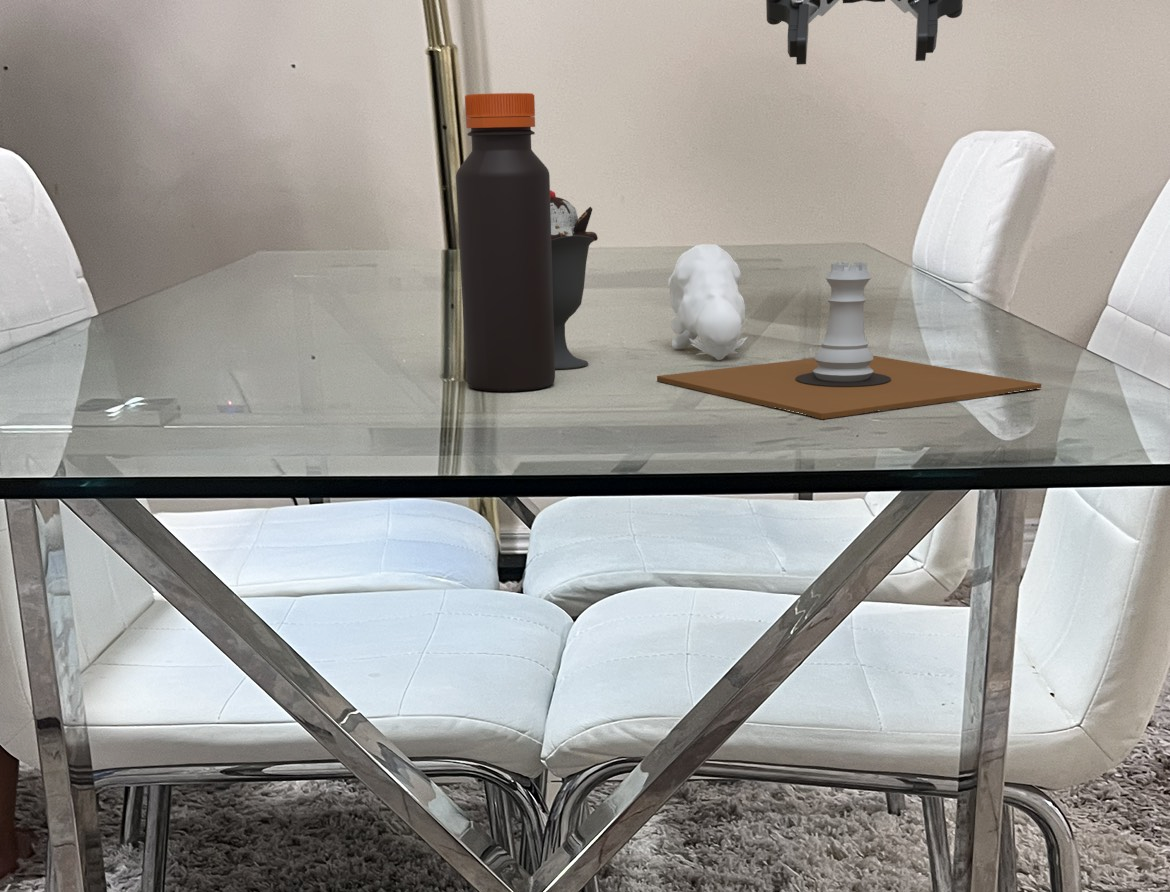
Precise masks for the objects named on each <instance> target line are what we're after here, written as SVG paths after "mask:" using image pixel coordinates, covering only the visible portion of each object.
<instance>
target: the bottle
mask: <svg viewBox="0 0 1170 892" xmlns="http://www.w3.org/2000/svg"><path fill="white" fill-rule="evenodd" d="M535 102H536V101H535V94H534V93H532V92H531V93H530V92H498V93H497V92H496V93H472V94H471V93H470V94H466V95H464V105H465V106H464V108H465V126H466V129H470V132H467V137H471V138H470V139H471V151H470V153H469V154H468V155H467V157H466V159H465V160H464V161H463V162H462V164H461V165H460V166H459V168H458V169H457V171H456V174H455V188H456V189H455V190H456V204H457V205H456V207H457V209H456V210H457V224H458V226H457V227H458V244H459V247H458V248H459V263H460V264H459V265H460V281H461V282H460V283H461V284H460V285H461V301H462V316H463V317H462V319H463V341H464V358H465V359H464V361H465V375H466V377H465V378H466V384H467V385H468V386H469V387H470V388H472V389H474V390H478V391H485V392H501V393H502V392H503V393H504V392H505V393H506V392H507V393H509V392H526V391H535V390H540V389H544V388H548V387H550V386H552V385H553V384H554V383H555V379H556V370H555V358H554V321H553V284H552V248H551V211H550V190H551V181H550V179H551V178H550V177H551V176H550V171H549V168H548V167H547V166H546V164H545V163H543V161H542V160H541V159H540V158H539V157H538V155H536V153H535V152H534V151H533V150H532V136H533V135H535V134H536V133H535V131H534V130H532V128H536V107H535V105H536V103H535Z"/></svg>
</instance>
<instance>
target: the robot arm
mask: <svg viewBox="0 0 1170 892" xmlns="http://www.w3.org/2000/svg"><path fill="white" fill-rule="evenodd" d="M765 1H766V2H765V4H766V7H765V9H766V10H765V11H766V22H767V23H768V24H769V25H778V24H780V23H782V22H783V23H786V24H787V25H788V27H787V54H788V56H789V58H796V59H795V61H796V63H795V64H796V65H797V66H798V65H799V66H800V65H801V66H802V65H807V57H808V56H807V55H808V43H809V42H808V41H809V40H808V39H809V24H810V23H811V22H813V20H815V18H817V17H818V16H820V17H823V16H825V15H826V14H827V13H828V12H829V11H830V10H831V9H833V7H834V6H835V5H836V4H837V3H838V2H839V1H840V0H765ZM863 1H865V2H872V3H879V2H880V3H884V2H886V0H842V4H854V3H858V2H863ZM890 2H892V3H893V4H894V5H895V6H896V7H897V8H898V9H899V10H900V11H901V12H903V13H904V14H906V13H908V12H909V13H910V14H911V15H912V16H913V17H914V18H915V19H916V33H915V34H916V35H915V62H925V61H926V58H927V54H933V53H934V51H935V50H936V47H937V39H938V28H939V26H938V24H939V19H940V18H941V17H943V16H946V17H947V18H949V19H956V18H959V17H960V16H961V15H962V13H963V7H964V6H963V0H890Z"/></svg>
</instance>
